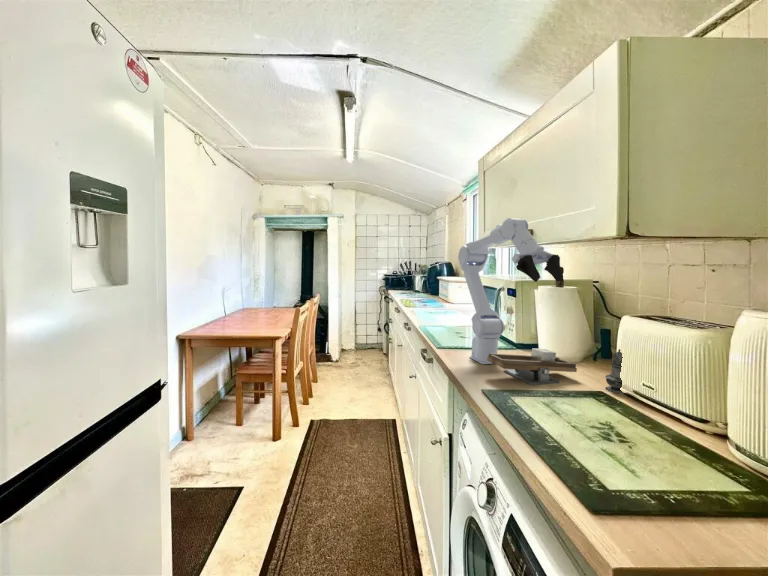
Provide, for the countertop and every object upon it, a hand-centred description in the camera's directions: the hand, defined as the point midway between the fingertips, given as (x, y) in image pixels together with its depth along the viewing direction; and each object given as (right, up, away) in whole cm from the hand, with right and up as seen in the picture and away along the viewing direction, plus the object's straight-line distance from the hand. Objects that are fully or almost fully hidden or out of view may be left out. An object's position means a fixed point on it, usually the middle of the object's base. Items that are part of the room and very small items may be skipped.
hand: (549, 279), depth 102 cm
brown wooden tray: (0, -27, +11) cm, 29 cm away
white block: (+3, -26, +12) cm, 29 cm away
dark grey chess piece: (+20, -32, +2) cm, 38 cm away
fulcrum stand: (-1, -30, +12) cm, 33 cm away
